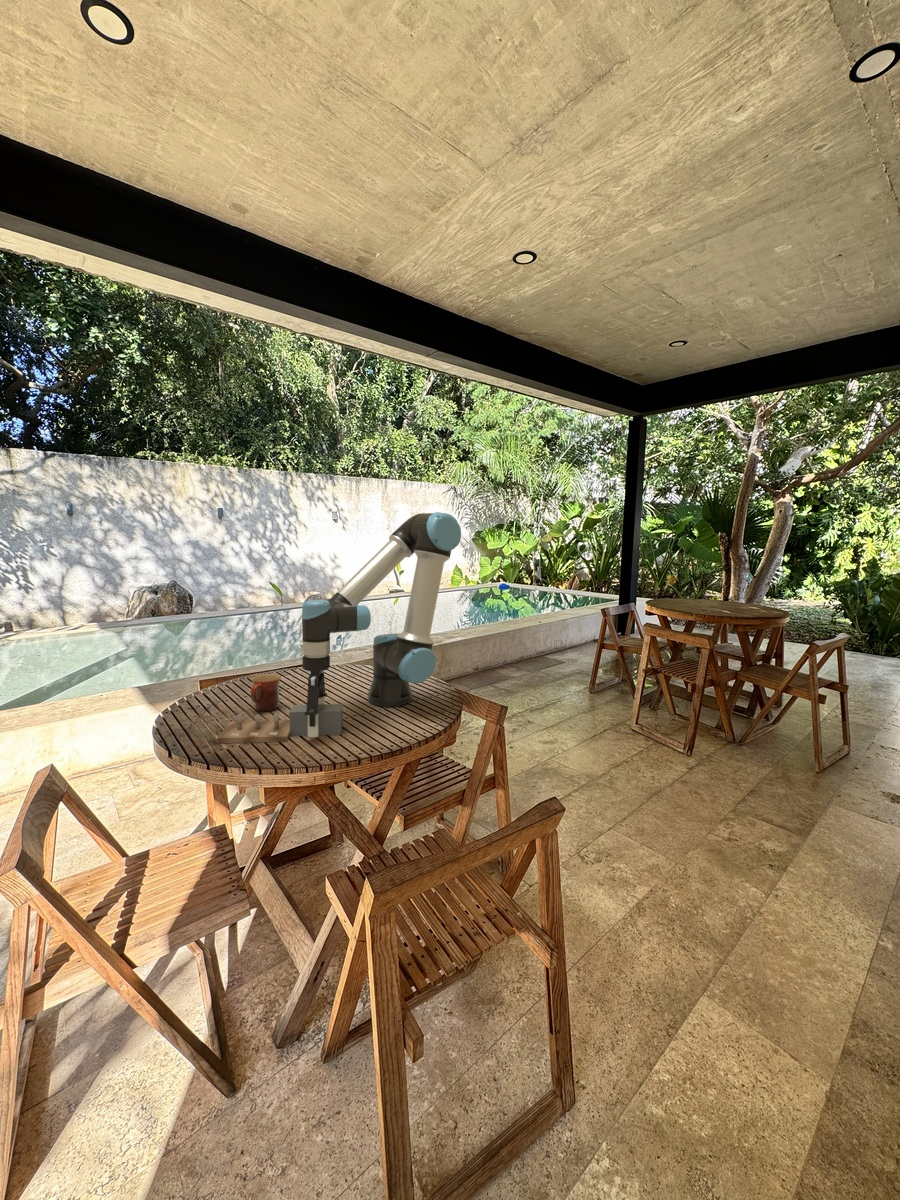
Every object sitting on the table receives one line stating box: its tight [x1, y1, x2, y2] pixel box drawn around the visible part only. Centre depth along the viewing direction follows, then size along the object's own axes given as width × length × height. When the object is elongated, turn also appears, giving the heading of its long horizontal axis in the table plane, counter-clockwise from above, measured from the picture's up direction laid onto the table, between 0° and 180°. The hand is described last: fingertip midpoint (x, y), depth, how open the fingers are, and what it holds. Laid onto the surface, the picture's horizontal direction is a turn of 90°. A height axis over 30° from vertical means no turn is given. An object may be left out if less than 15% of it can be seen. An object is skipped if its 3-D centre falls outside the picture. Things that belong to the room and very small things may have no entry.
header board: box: [216, 713, 291, 745], centre depth 138 cm, size 18×12×6 cm, turn 97°
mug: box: [250, 673, 281, 713], centre depth 156 cm, size 12×9×10 cm
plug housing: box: [288, 703, 344, 737], centre depth 141 cm, size 14×6×7 cm, turn 97°
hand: (316, 727), depth 141 cm, fingers open, 13 cm apart
